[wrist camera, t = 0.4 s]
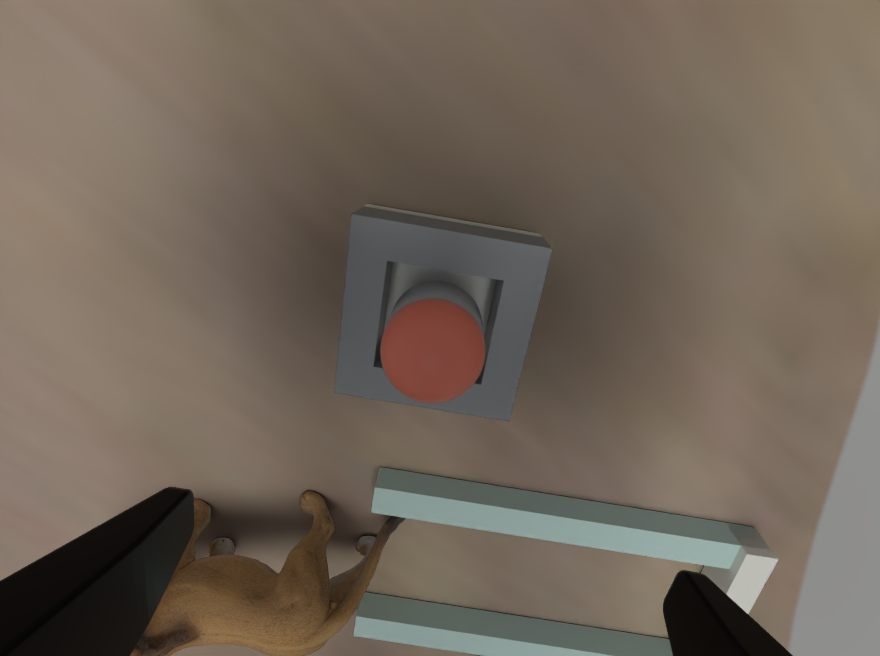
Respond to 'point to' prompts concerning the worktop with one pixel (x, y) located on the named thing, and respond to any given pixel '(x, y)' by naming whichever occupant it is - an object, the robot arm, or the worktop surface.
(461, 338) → the dome plunger
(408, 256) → the button housing
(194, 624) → the lion figurine
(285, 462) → the worktop surface
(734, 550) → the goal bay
